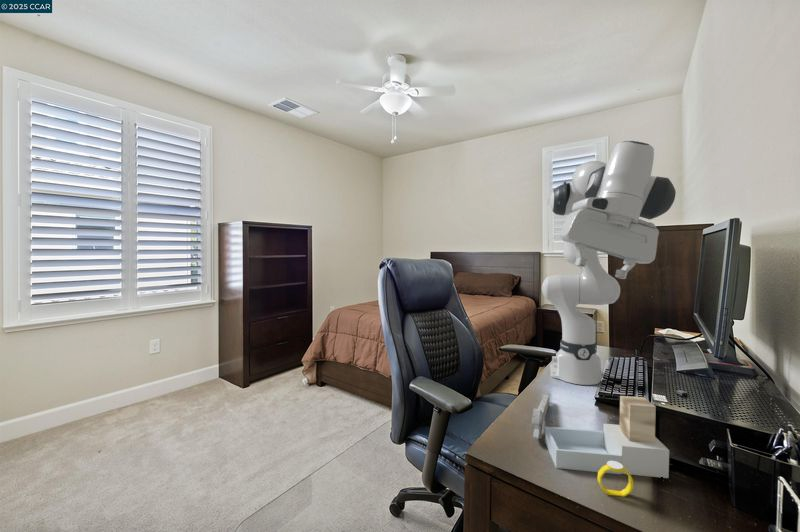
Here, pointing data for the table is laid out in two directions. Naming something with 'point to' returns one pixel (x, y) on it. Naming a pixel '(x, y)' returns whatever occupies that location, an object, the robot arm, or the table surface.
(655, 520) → the table surface
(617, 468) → the watch
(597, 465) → the tray
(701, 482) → the table surface
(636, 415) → the block
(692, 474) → the table surface
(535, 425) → the wrench
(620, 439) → the riser
